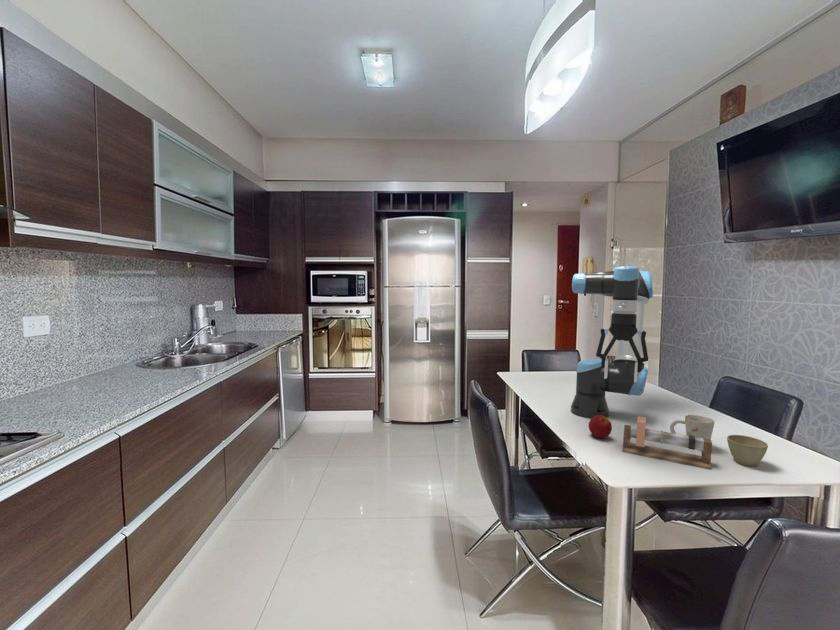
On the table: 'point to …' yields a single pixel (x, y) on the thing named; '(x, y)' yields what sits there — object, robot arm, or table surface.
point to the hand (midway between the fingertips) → (620, 379)
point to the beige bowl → (746, 449)
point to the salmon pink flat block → (640, 431)
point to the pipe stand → (670, 439)
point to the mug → (696, 426)
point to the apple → (600, 426)
